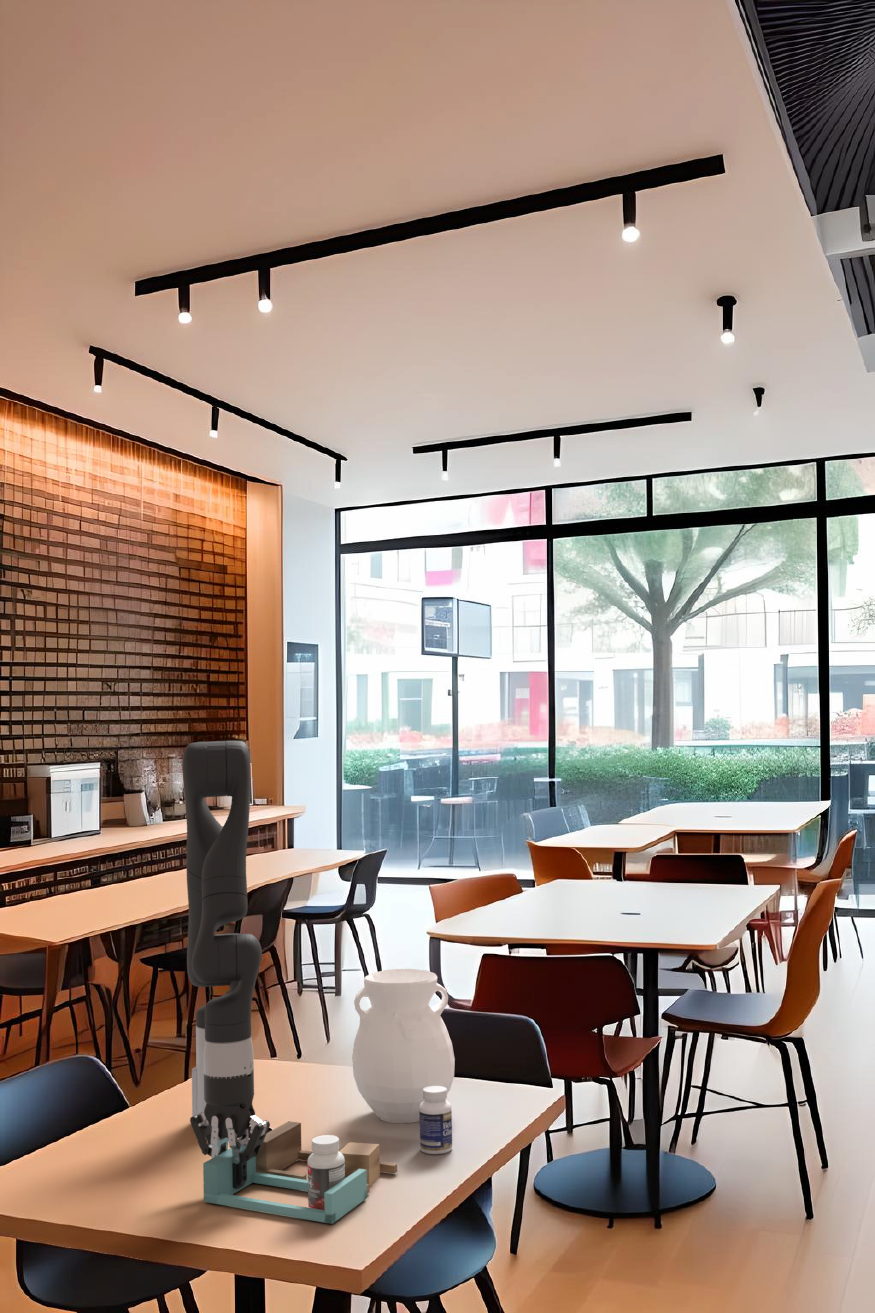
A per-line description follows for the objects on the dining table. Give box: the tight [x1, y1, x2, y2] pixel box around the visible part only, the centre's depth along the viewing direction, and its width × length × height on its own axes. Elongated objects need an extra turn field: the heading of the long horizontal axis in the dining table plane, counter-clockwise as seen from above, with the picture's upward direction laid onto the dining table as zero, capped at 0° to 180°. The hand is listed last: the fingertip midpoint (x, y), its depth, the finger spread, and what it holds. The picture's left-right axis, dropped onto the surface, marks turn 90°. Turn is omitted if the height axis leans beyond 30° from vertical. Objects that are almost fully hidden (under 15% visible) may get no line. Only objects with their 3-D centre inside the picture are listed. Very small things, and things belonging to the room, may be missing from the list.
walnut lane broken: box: [256, 1121, 398, 1195], centre depth 178 cm, size 20×10×6 cm, turn 65°
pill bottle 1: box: [307, 1134, 345, 1210], centre depth 165 cm, size 5×5×10 cm
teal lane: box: [202, 1147, 368, 1225], centre depth 168 cm, size 22×10×6 cm, turn 65°
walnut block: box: [339, 1142, 381, 1189], centre depth 175 cm, size 5×5×5 cm
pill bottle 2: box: [418, 1086, 453, 1155], centre depth 188 cm, size 5×5×10 cm
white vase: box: [351, 968, 456, 1124], centre depth 207 cm, size 19×18×25 cm
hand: (230, 1185), depth 172 cm, fingers closed on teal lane, 2 cm apart
